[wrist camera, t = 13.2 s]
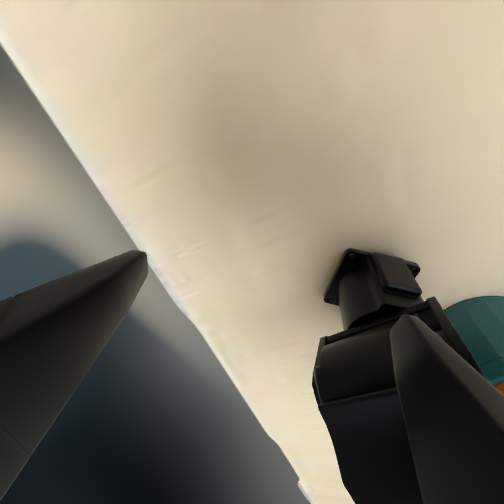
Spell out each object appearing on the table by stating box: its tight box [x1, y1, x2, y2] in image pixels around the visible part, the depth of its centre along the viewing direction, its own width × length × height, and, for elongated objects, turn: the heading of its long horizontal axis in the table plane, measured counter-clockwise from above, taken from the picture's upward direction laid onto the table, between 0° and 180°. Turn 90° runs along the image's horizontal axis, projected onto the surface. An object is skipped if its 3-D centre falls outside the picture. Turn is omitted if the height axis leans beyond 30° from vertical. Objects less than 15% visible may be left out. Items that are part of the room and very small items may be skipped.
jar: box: [444, 296, 504, 386], centre depth 22 cm, size 8×8×7 cm
